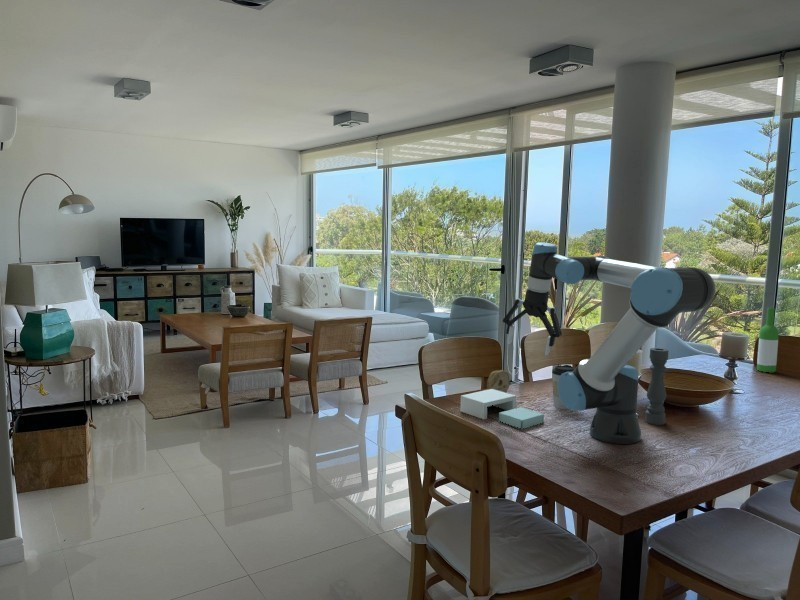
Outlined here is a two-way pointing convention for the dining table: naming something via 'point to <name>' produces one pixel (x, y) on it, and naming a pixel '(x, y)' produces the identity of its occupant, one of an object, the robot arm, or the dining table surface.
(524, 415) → the mint green flat box
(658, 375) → the candle holder
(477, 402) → the low shelf
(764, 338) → the wine bottle
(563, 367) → the coffee cup
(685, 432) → the dining table surface
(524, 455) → the dining table surface
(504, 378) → the stone disc
